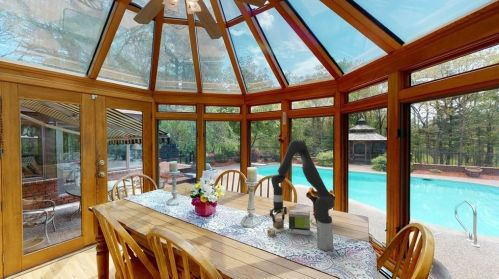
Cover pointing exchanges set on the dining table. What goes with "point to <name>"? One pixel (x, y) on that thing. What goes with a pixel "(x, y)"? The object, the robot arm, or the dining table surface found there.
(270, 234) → the maple block
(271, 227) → the plate
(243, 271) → the dining table surface
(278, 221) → the walnut cube
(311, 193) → the decorative vase
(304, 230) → the tea box
